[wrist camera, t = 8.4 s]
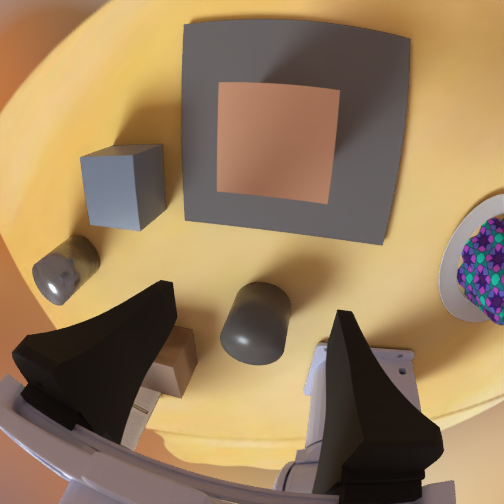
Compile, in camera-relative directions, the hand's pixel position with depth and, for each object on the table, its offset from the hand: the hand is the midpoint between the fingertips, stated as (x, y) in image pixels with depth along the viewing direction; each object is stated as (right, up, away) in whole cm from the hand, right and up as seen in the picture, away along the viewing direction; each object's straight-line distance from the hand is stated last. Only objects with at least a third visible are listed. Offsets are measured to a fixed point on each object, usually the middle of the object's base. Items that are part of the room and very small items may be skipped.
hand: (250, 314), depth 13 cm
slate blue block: (-8, +8, +8) cm, 15 cm away
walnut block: (-8, -7, +17) cm, 20 cm away
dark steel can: (-17, +2, +13) cm, 22 cm away
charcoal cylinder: (+1, -2, +12) cm, 12 cm away
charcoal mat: (+2, +10, +5) cm, 12 cm away
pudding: (+20, +2, +6) cm, 21 cm away
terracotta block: (+2, +10, +4) cm, 11 cm away
